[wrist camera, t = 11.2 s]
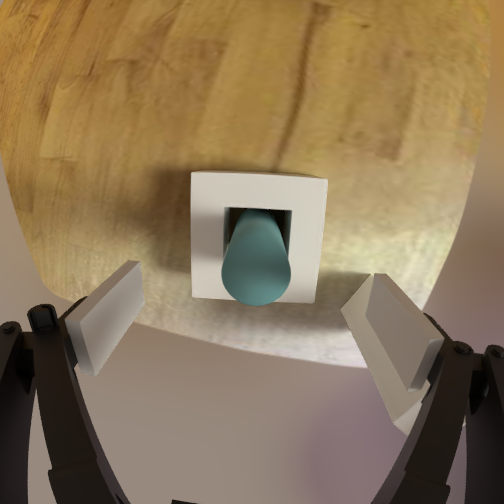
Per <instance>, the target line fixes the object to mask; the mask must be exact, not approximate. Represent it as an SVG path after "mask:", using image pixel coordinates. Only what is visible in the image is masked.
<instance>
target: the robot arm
mask: <svg viewBox="0 0 504 504" xmlns="http://www.w3.org/2000/svg"><path fill="white" fill-rule="evenodd" d="M144 305H145V301H144V293H143V284H142V275H141V264H140V261H131V260H128V261H127V262H126V263H125V264H123V265H122V266H121V267H120V268H119V269H118V270H117V271H115V272H114V273H113V274H112V275H111V276H110V277H109V278H108V279H107V280H105V281H104V282H103V283H102V284H101V285H100V286H99V287H98V288H97V289H96V290H95V291H93V292H92V293H91V294H90V295H89V296H85V297H83V298H81V299H79V300H78V301H77V302H76V303H74V305H73V306H71V307H70V308H69V309H68V311H66V312H65V313H64V314H63V315H62V316H61V317H60V318H59V319H58V318H57V314H56V311H55V308H54V306H53V305H51V304H40V305H37V306H35V307H33V308H31V309H30V310H29V311H28V313H27V316H28V319H29V322H30V326H31V328H32V332H22V329H21V326H20V324H19V323H18V322H14V321H11V322H6V323H3V324H2V325H1V326H0V504H28V486H27V483H28V482H27V480H28V450H29V438H30V427H31V419H32V411H33V404H34V397H35V392H36V389H37V396H38V403H39V410H40V416H41V420H42V426H43V431H44V436H45V440H46V445H47V449H48V453H49V457H50V461H51V464H52V469H51V470H48V476H49V481H50V484H51V488H52V491H53V494H54V496H55V500H56V502H57V504H130V502H129V501H128V499H127V497H126V496H125V494H124V492H123V490H122V489H121V486H120V485H119V483H118V481H117V479H116V477H115V475H114V473H113V471H112V469H111V466H110V464H109V462H108V460H107V458H106V456H105V453H104V451H103V449H102V447H101V444H100V442H99V439H98V437H97V435H96V432H95V429H94V427H93V424H92V422H91V419H90V416H89V413H88V411H87V408H86V405H85V402H84V399H83V396H82V393H81V389H80V386H79V383H78V379H77V376H76V373H75V370H74V367H75V366H76V364H77V363H78V364H79V367H80V370H81V372H82V373H84V374H88V375H92V376H97V374H98V372H99V371H100V370H101V368H102V366H103V365H104V363H105V362H106V360H107V359H108V357H109V356H110V354H111V353H112V351H113V350H114V348H115V347H116V345H117V344H118V342H119V341H120V339H121V338H122V336H123V335H124V334H125V332H126V330H127V329H128V328H129V326H130V325H131V324H132V322H133V321H134V319H135V318H136V316H137V315H138V314H139V312H140V311H141V309H142V308H143V307H144ZM365 316H366V318H367V320H368V322H369V323H370V325H371V327H372V328H373V330H374V332H375V334H376V335H377V337H378V339H379V341H380V342H381V344H382V346H383V348H384V349H385V351H386V353H387V355H388V357H389V358H390V360H391V362H392V364H393V366H394V368H395V369H396V371H397V373H398V375H399V377H400V379H401V381H402V382H403V384H404V386H405V388H406V390H407V392H409V391H415V390H421V389H422V387H423V385H424V383H425V381H426V379H427V380H428V382H429V383H430V386H429V388H428V390H427V392H426V394H425V396H424V398H423V399H422V401H421V403H422V405H421V408H420V410H419V413H418V415H417V418H416V420H415V422H414V425H413V427H412V429H411V431H410V434H409V436H408V438H407V440H406V442H405V444H404V446H403V448H402V450H401V452H400V454H399V456H398V458H397V460H396V462H395V464H394V466H393V467H392V470H391V471H390V473H389V475H388V476H387V478H386V480H385V482H384V483H383V485H382V487H381V488H380V490H379V491H378V493H377V495H376V496H375V498H374V499H373V501H372V502H371V504H446V501H447V499H448V496H449V493H450V486H449V485H446V481H447V478H448V475H449V472H450V469H451V466H452V463H453V460H454V457H455V453H456V450H457V446H458V442H459V439H460V435H461V431H462V427H463V422H464V418H465V422H466V443H467V471H466V492H465V503H464V504H504V348H503V347H501V346H499V345H498V346H497V345H489V346H488V347H487V348H486V350H485V353H484V354H477V353H474V351H473V349H472V348H471V347H470V346H469V345H468V344H466V343H463V342H460V341H452V339H450V337H449V336H448V335H447V334H446V332H445V331H444V330H443V329H441V327H440V326H439V325H438V324H437V322H436V321H435V320H434V319H433V318H432V317H431V316H429V315H427V314H426V313H422V311H421V310H420V309H419V308H418V307H417V306H416V305H415V304H414V303H413V302H412V300H411V299H410V298H409V297H408V296H407V295H406V294H405V293H404V292H403V291H402V290H401V289H400V288H399V286H398V285H397V284H396V283H395V282H394V281H393V280H392V279H391V278H390V277H389V276H388V275H387V274H379V273H375V274H374V279H373V284H372V288H371V293H370V297H369V302H368V306H367V310H366V314H365ZM171 504H196V503H189V502H184V501H178V500H172V503H171Z"/></svg>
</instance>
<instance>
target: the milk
mask: <svg viewBox="0 0 504 504" xmlns="http://www.w3.org/2000/svg"><path fill="white" fill-rule="evenodd" d="M373 279H374V276H373V275H371V274H370V275H369V277H368V278H367V279H366V280H365V281H364V283H363V284H362V285H361V286H360V287H359V288H358V290H357V291H356V292H355V293H354V294H353V295H352V297H351V298H350V299H349V300H348V301H347V302H346V304H345V305H344V306H343V307H342V308H341V309H340V311H341V313H342V315H343V317H344V319H345V321H346V323H347V325H348V327H349V329H350V331H351V333H352V335H353V337H354V339H355V341H356V343H357V345H358V347H359V349H360V351H361V354H362V356H363V358H364V360H365V362H366V364H367V366H368V368H369V370H370V372H371V375H372V377H373V379H374V381H375V384H376V386H377V388H378V390H379V392H380V395H381V397H382V399H383V401H384V404H385V406H386V408H387V410H388V413H389V415H390V417H391V420H392V422H393V424H394V425H395V426H397V427H398V428H399V429H400V430H401V431H402V432H404V433H405V434H406V435H407V436H409V434H410V431H411V429H412V427H413V425H414V422H415V420H416V418H417V415H418V413H419V410H420V408H421V405H422V403H421V401H422V399H423V398H424V396H425V394H426V392H427V390H428V388H429V386H430V383H429V382H428V380H427V379H426V381H425V383H424V385H423V387H422V389H421V390H415V391H409V392H407V390H406V388H405V386H404V384H403V382H402V381H401V379H400V377H399V375H398V373H397V371H396V369H395V368H394V366H393V364H392V362H391V360H390V358H389V357H388V355H387V353H386V351H385V349H384V348H383V346H382V344H381V342H380V341H379V339H378V337H377V335H376V334H375V332H374V330H373V328H372V327H371V325H370V323H369V322H368V320H367V318H366V316H365V314H366V310H367V306H368V302H369V297H370V293H371V288H372V284H373ZM465 424H466V422H465V418H464V422H463V426H464V425H465Z"/></svg>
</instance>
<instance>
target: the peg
mask: <svg viewBox="0 0 504 504" xmlns="http://www.w3.org/2000/svg"><path fill="white" fill-rule="evenodd" d="M221 278H222V282H223V285H224V287H225V289H226V290H227V292H228V293H229V294H230V295H231V296H232V297H233V298H234V299H236V300H237V301H239V302H241V303H243V304H246V305H251V306H261V305H266V304H269V303H272V302H274V301H275V300H277V299H278V298H280V297H281V296H282V295H283V294H284V292H285V291H286V289H287V288H288V286H289V283H290V279H291V268H290V264H289V260H288V257H287V254H286V250H285V247H284V243H283V240H282V237H281V233H280V230H279V227H278V223H277V220H276V218H275V216H274V215H273V213H272V212H271V211H269V210H268V209H262V208H249V209H247V210H245V211H244V212H243V213H242V214H241V215H240V216H239V218H238V221H237V224H236V227H235V229H234V232H233V235H232V238H231V241H230V244H229V247H228V250H227V253H226V256H225V259H224V262H223V265H222V269H221Z"/></svg>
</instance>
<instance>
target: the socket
mask: <svg viewBox="0 0 504 504" xmlns="http://www.w3.org/2000/svg"><path fill="white" fill-rule="evenodd" d="M327 186H328V179H325V178H321V177H317V176H311V175H298V174H285V173H269V172H250V171H222V170H202V171H196V172H191V275H192V297H196V298H210V299H226V300H236V299H234V298H233V297H232V296H231V295H230V294H229V293H228V292H227V290H226V289H225V287H224V285H223V282H222V278H221V269H222V265H223V262H224V259H225V256H226V253H227V250H228V247H229V226H230V207H242V208H262V209H280V210H285V223H284V236H283V243H284V247H285V250H286V254H287V257H288V260H289V264H290V268H291V279H290V283H289V286H288V288H287V289H286V291H285V292H284V294H283V295H282V296H281V297H280V298H278V299H277V300H275V301H274V302H286V303H314V300H315V293H316V286H317V279H318V272H319V264H320V256H321V247H322V239H323V229H324V220H325V209H326V198H327Z"/></svg>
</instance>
